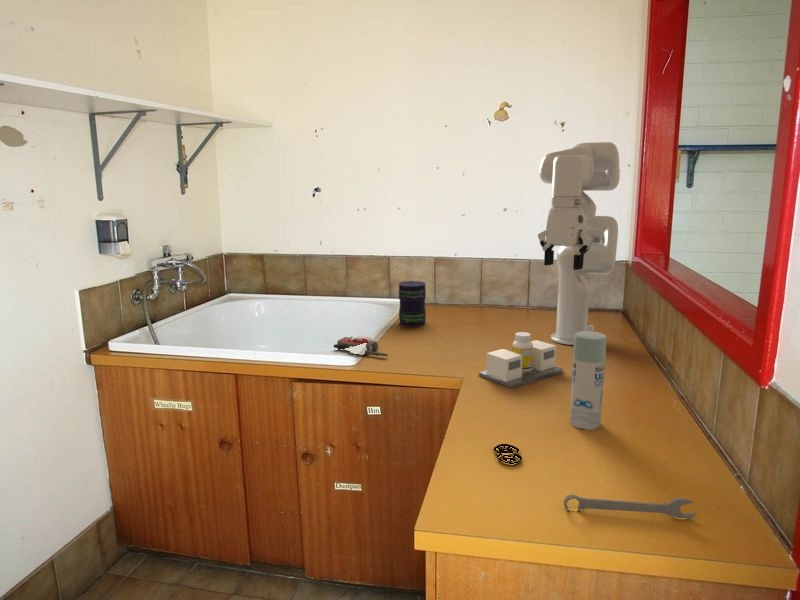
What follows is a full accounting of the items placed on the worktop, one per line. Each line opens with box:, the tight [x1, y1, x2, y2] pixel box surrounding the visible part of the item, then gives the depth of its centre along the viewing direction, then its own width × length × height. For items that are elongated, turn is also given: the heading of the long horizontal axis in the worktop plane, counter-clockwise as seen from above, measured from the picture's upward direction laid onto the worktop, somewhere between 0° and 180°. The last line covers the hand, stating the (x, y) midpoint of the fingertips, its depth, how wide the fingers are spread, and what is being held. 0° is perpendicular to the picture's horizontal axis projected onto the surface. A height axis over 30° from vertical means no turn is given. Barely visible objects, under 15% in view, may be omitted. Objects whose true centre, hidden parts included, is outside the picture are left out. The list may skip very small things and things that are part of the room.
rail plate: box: [478, 365, 564, 389], centre depth 154 cm, size 20×12×2 cm, turn 126°
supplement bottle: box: [511, 331, 533, 371], centre depth 153 cm, size 5×5×10 cm
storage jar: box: [398, 280, 427, 327], centre depth 207 cm, size 10×10×15 cm
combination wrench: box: [563, 494, 697, 520], centre depth 90 cm, size 4×1×20 cm
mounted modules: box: [485, 339, 557, 382], centre depth 154 cm, size 20×7×6 cm, turn 126°
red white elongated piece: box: [333, 335, 389, 357], centre depth 176 cm, size 9×4×20 cm
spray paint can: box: [569, 331, 608, 431], centre depth 121 cm, size 6×6×20 cm
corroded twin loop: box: [493, 443, 523, 464], centre depth 110 cm, size 5×8×1 cm, turn 0°
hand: (562, 267), depth 154 cm, fingers open, 9 cm apart
